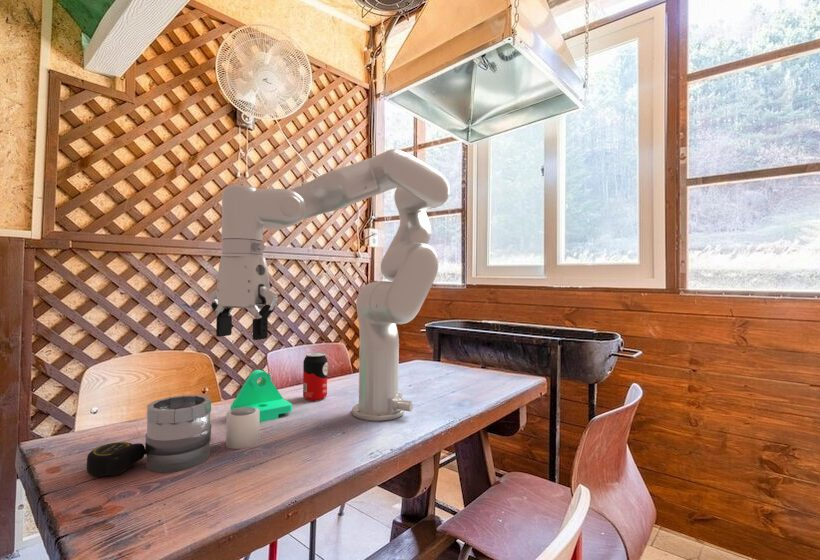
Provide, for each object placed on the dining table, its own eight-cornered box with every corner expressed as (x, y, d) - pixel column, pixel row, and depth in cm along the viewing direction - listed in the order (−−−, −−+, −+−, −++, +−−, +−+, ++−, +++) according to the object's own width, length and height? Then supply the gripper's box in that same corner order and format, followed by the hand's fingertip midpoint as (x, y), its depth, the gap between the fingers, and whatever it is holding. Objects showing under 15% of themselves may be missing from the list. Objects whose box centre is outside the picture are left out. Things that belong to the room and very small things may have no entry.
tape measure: (116, 482, 63) (117, 458, 64) (74, 480, 64) (75, 456, 64) (147, 462, 70) (147, 441, 70) (108, 461, 71) (109, 439, 71)
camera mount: (241, 426, 88) (241, 379, 88) (230, 417, 94) (231, 373, 94) (293, 415, 96) (294, 372, 96) (280, 407, 102) (281, 366, 102)
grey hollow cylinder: (223, 454, 74) (224, 398, 74) (171, 477, 65) (172, 414, 65) (185, 444, 78) (186, 392, 78) (131, 465, 69) (132, 406, 69)
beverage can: (309, 403, 105) (309, 357, 105) (299, 397, 110) (299, 353, 110) (331, 399, 109) (331, 354, 109) (320, 394, 114) (321, 351, 114)
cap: (265, 439, 81) (266, 408, 81) (242, 451, 75) (242, 417, 75) (243, 435, 83) (243, 404, 83) (218, 445, 78) (219, 412, 78)
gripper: (290, 250, 79) (289, 338, 79) (227, 252, 87) (226, 332, 87) (260, 247, 73) (259, 343, 72) (195, 249, 80) (194, 336, 80)
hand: (241, 337), depth 80 cm, fingers open, 9 cm apart
